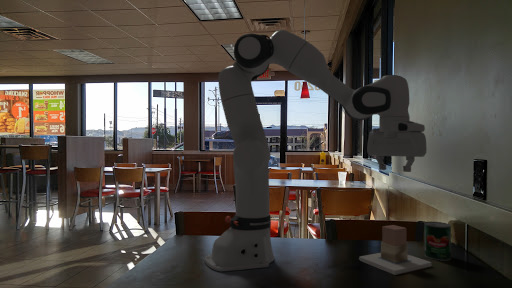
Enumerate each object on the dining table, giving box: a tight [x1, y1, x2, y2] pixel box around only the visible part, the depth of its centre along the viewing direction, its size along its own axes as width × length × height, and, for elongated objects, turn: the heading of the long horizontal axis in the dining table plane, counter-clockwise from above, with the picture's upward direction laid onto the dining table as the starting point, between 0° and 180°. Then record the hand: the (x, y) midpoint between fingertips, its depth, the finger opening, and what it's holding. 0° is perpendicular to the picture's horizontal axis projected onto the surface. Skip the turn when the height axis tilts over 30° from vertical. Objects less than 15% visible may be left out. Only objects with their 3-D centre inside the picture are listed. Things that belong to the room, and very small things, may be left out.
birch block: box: [380, 241, 409, 263], centre depth 107 cm, size 6×6×5 cm
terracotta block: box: [381, 224, 407, 246], centre depth 107 cm, size 5×5×5 cm
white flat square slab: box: [358, 252, 433, 276], centre depth 107 cm, size 16×14×1 cm
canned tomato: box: [423, 220, 452, 262], centre depth 113 cm, size 8×8×11 cm
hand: (394, 170), depth 107 cm, fingers open, 8 cm apart
